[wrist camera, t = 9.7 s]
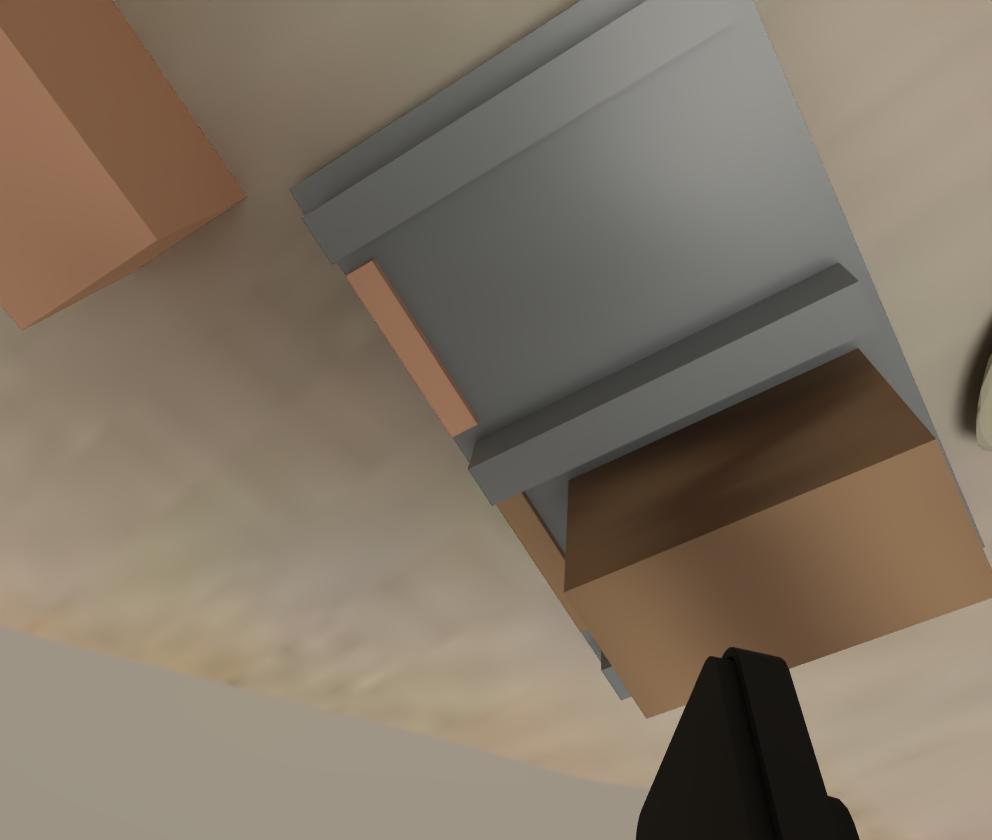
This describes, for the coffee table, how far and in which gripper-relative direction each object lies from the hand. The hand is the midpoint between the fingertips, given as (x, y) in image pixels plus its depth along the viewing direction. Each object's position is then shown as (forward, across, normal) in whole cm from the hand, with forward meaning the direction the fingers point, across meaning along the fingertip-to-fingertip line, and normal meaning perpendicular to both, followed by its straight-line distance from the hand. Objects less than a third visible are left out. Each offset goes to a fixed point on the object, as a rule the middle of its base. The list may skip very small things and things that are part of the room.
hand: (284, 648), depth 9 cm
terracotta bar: (+14, +10, -2) cm, 17 cm away
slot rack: (+14, -6, +1) cm, 15 cm away
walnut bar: (+12, -8, +3) cm, 15 cm away
